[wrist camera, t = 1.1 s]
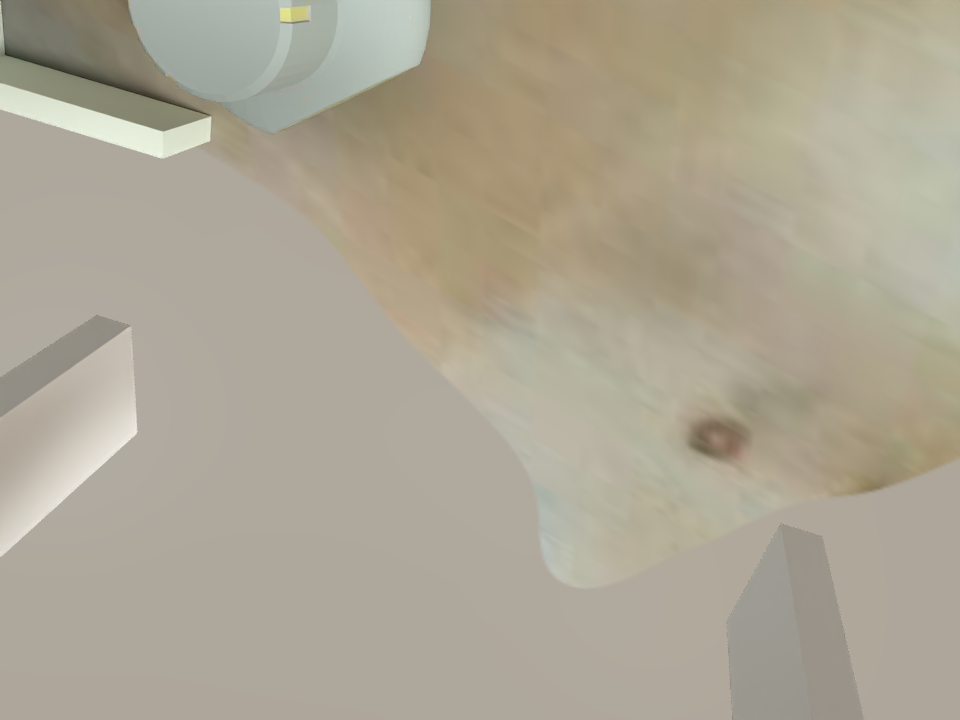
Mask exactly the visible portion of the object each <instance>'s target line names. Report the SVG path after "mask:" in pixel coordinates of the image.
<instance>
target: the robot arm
mask: <svg viewBox="0 0 960 720" xmlns="http://www.w3.org/2000/svg"><path fill="white" fill-rule="evenodd" d="M131 335H132V333H131V325H128V324H124V323H121V322H118V321H114V320H111V319H108V318H104V317H101V316H98V315H96V316H94V317H93V318H92V319H90V320H88V321H87V322H85V323H84V324H82V325H81V326H79V327H77V328H76V329H74V330H73V331H71V332H70V333H68V334H67V335H65V336H63V337H62V338H60V339H59V340H57V341H56V342H54V343H53V344H51V345H50V346H48V347H47V348H45V349H44V350H42V351H40V352H39V353H37V354H36V355H34V356H32V357H31V358H29V359H28V360H26V361H25V362H23V363H22V364H20V365H19V366H17V367H15V368H14V369H12V370H11V371H9V372H8V373H6V374H5V375H3V376H2V377H0V557H1V556H2V555H3V554H5V552H7V551H8V550H9V549H10V548H11V547H12V546H13V545H14V544H15V543H16V542H18V541H19V540H20V539H21V538H22V537H23V536H24V535H25V534H26V533H28V532H29V531H30V530H31V529H32V528H33V527H34V526H35V525H36V524H38V523H39V522H40V521H41V520H42V519H43V518H44V517H45V516H46V515H47V514H49V513H50V512H51V511H52V510H53V509H54V508H55V507H56V506H57V505H59V504H60V503H61V502H62V501H63V500H64V499H65V498H66V497H67V496H68V495H70V494H71V493H72V492H73V491H74V490H75V489H76V488H77V487H78V486H79V485H80V484H81V483H83V482H84V481H85V480H86V479H87V478H88V477H89V476H90V475H91V474H92V473H94V472H95V471H96V470H97V469H98V468H99V467H100V466H101V465H103V464H104V463H105V462H106V461H107V460H108V459H109V458H110V457H111V456H112V455H113V454H115V453H116V452H117V451H118V450H119V449H120V448H121V447H122V446H123V445H125V444H126V443H127V442H128V441H129V440H130V439H131V438H132V437H133V436H134V435H136V434H137V420H136V404H135V403H136V402H135V386H134V369H133V351H132V336H131ZM727 636H728V654H729V669H730V670H729V671H730V687H731V704H732V720H864V717H863V713H862V708H861V704H860V700H859V695H858V691H857V686H856V682H855V677H854V673H853V669H852V665H851V660H850V655H849V651H848V647H847V643H846V638H845V634H844V629H843V625H842V620H841V616H840V612H839V607H838V603H837V599H836V594H835V590H834V585H833V581H832V576H831V572H830V568H829V563H828V559H827V555H826V550H825V546H824V541H823V537H822V536H820V535H817V534H814V533H811V532H807V531H804V530H801V529H797V528H794V527H791V526H788V525H784V524H780V525H779V527H778V529H777V531H776V533H775V534H774V536H773V538H772V540H771V542H770V544H769V545H768V547H767V549H766V551H765V553H764V554H763V556H762V558H761V560H760V562H759V564H758V565H757V567H756V569H755V571H754V573H753V575H752V576H751V578H750V580H749V582H748V584H747V586H746V587H745V589H744V591H743V593H742V594H741V596H740V598H739V600H738V602H737V604H736V605H735V607H734V609H733V611H732V613H731V614H730V616H729V618H728V620H727Z"/></svg>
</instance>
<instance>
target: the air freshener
mask: <svg viewBox="0 0 960 720" xmlns="http://www.w3.org/2000/svg"><path fill="white" fill-rule="evenodd" d="M127 1H128V11H129V15H130V19H131V22H132V24H133V25H135V28H136V30H137V33H138V35H139V37H138V40H139V41H140V43H141V45H142V47H143V49H144V50H145V52H146V53H148V54H149V55H150V56H151V58H152V59H153V60H154V62H155V66H156V67H157V68H158V69H159V70H160V71H161V72H162V73H163V74H164V75H165V76H166V77H170V78H171V79H172V80H173V81H175V82H176V83H177V86H178V87H180V88H181V89H183V90H185V91H186V92H188V93H190V94H192V95H195V96H197V97H200V98H202V99H206V100H211V101H215V102H219V103H220V104H221V105H222V106H224V107H225V108H226V109H227V110H229V111H230V112H231V113H232V114H234V115H235V116H236V117H238V118H239V119H241V120H243V121H244V122H246V123H248V124H250V125H251V126H253V127H255V128H257V129H259V130H262V131H264V132H267V133H269V134H272V135H273V134H275V133H278V132H280V131H282V130H285V129H287V128H289V127H291V126H293V125H296V124H298V123H300V122H302V121H304V120H306V119H309V118H311V117H313V116H315V115H317V114H319V113H321V112H323V111H326V110H328V109H330V108H332V107H334V106H336V105H338V104H340V103H342V102H345V101H347V100H349V99H351V98H353V97H355V96H357V95H359V94H361V93H363V92H365V91H368V90H370V89H372V88H374V87H376V86H378V85H380V84H382V83H384V82H386V81H388V80H390V79H392V78H394V77H396V76H398V75H400V74H402V73H404V72H406V71H408V70H410V69H412V68H414V67H416V66H418V65H419V64H420V62H421V59H422V56H423V54H424V51H425V48H426V43H427V38H428V32H429V27H430V14H431V0H127Z"/></svg>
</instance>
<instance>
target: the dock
mask: <svg viewBox="0 0 960 720" xmlns="http://www.w3.org/2000/svg"><path fill="white" fill-rule="evenodd" d="M0 110H4V111H7V112H10V113H14V114H17V115H20V116H24V117H27V118H30V119H34V120H37V121H40V122H43V123H47V124H50V125H54V126H57V127H60V128H63V129H66V130H70V131H73V132H77V133H80V134H83V135H86V136H89V137H93V138H96V139H99V140H103V141H106V142H109V143H113V144H116V145H119V146H122V147H126V148H129V149H133V150H136V151H139V152H142V153H145V154H149V155H152V156H156V157H159V158H162V159H163V158H166V157H169V156H171V155H174V154H176V153H179V152H182V151H185V150H187V149H190V148H192V147H195V146H198V145H201V144H203V143H206V142H209V141H210V135H211V116H209V115H206V114H202V113H199V112H195V111H192V110H189V109H185V108H182V107H179V106H175V105H172V104H168V103H165V102H162V101H158V100H155V99H152V98H148V97H145V96H142V95H138V94H135V93H131V92H128V91H125V90H121V89H118V88H115V87H111V86H108V85H104V84H101V83H98V82H94V81H91V80H88V79H84V78H81V77H78V76H74V75H71V74H67V73H64V72H61V71H57V70H54V69H51V68H47V67H44V66H40V65H37V64H34V63H30V62H27V61H24V60H20V59H17V58H13V57H10V56H7V55H5V47H4V35H3V23H2V11H1V0H0Z"/></svg>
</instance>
